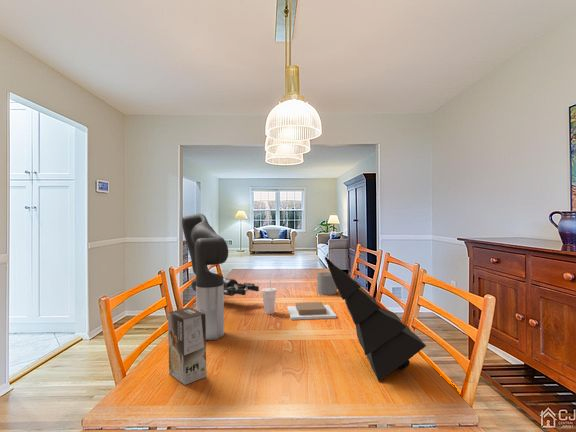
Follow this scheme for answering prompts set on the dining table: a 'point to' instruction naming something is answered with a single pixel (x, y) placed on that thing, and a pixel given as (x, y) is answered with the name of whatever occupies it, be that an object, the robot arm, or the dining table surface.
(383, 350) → the decorative tree
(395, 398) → the dining table surface
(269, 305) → the smoothie
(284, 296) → the dining table surface
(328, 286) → the coffee mug
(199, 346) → the coffee box
